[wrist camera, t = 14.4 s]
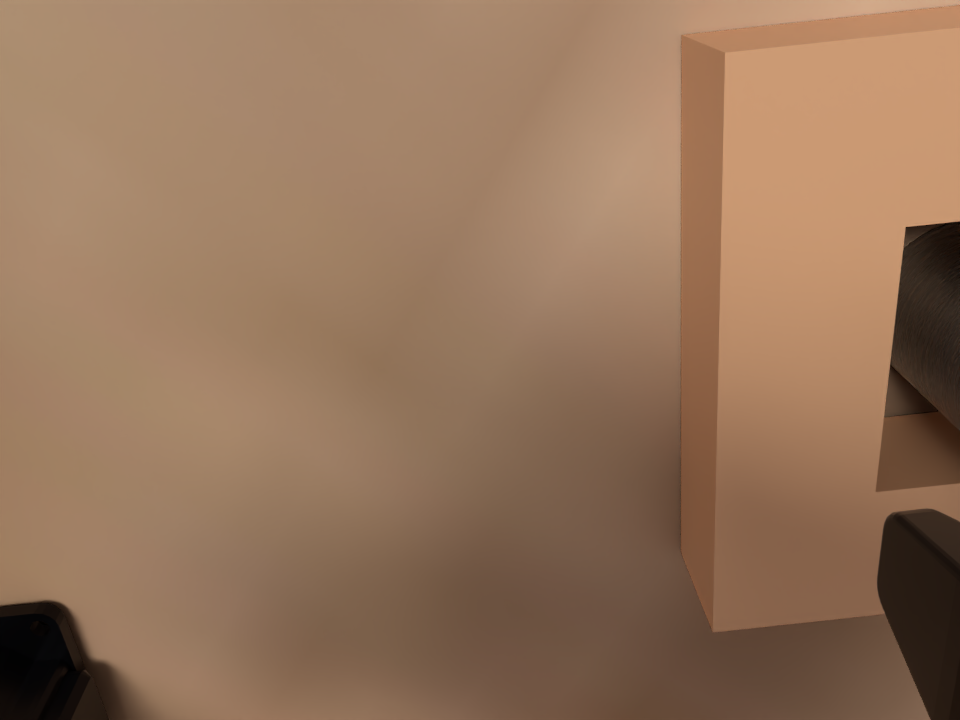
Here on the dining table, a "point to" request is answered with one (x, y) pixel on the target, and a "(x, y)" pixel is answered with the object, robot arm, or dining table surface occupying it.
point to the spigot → (931, 319)
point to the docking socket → (807, 304)
